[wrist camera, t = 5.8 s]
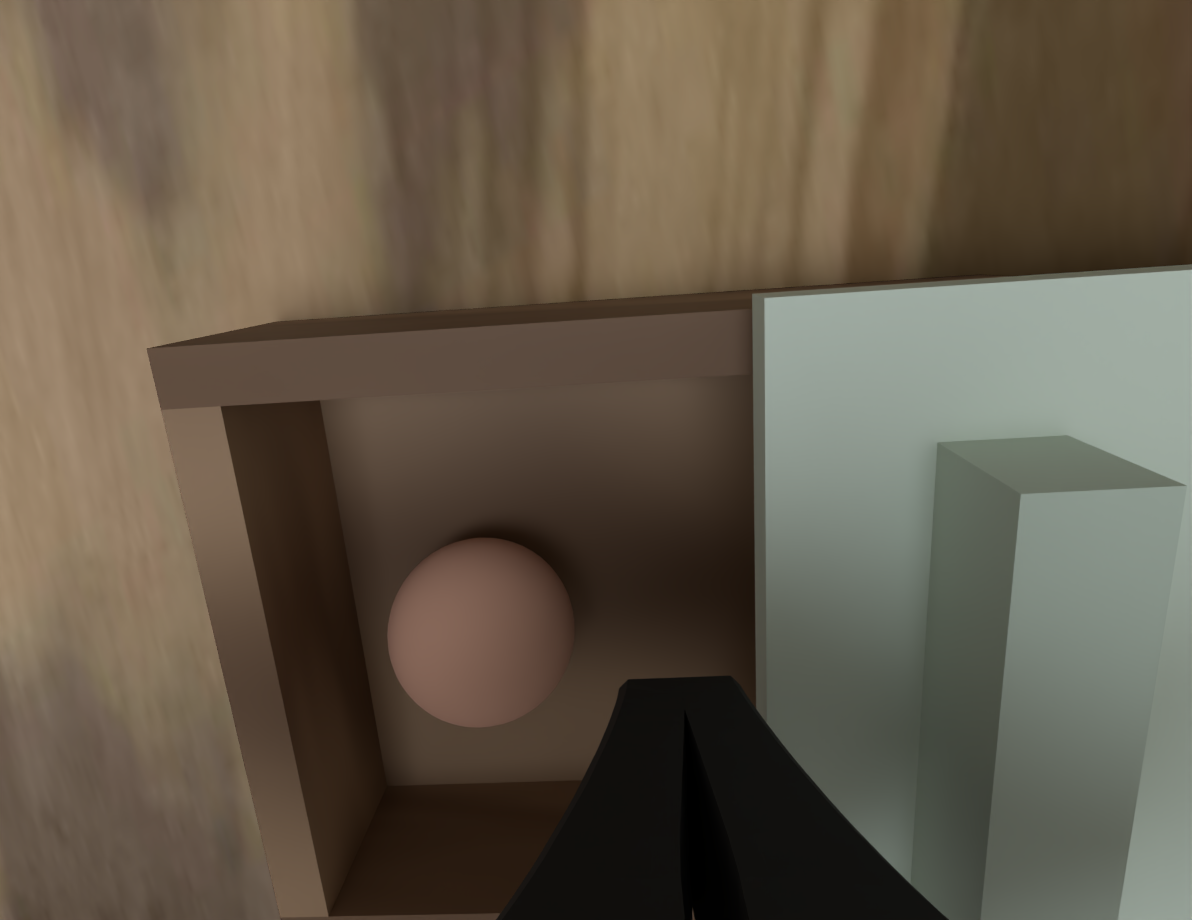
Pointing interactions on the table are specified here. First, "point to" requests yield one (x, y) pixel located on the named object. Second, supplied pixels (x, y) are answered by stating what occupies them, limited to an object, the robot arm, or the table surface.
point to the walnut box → (441, 517)
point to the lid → (986, 580)
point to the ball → (481, 632)
